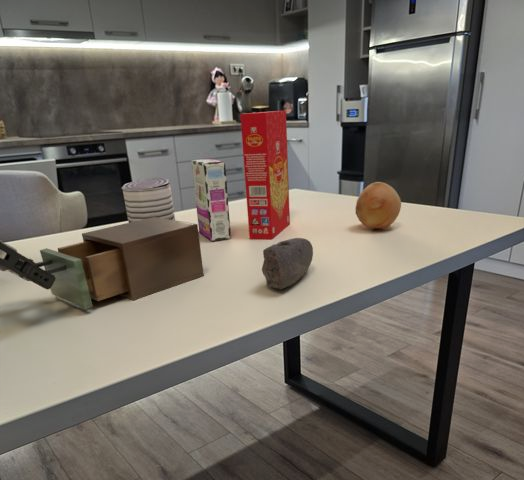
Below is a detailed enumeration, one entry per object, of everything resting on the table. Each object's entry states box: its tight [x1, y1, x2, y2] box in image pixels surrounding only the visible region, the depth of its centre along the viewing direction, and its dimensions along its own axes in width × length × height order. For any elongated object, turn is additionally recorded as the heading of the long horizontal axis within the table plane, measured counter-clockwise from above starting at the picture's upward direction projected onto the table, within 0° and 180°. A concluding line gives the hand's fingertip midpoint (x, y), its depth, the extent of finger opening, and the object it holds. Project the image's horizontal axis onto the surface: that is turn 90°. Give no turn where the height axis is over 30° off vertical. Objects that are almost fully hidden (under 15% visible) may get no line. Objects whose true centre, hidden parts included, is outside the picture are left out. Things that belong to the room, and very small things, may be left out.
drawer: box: [13, 240, 129, 310], centre depth 75 cm, size 19×11×7 cm, turn 136°
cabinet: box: [81, 217, 205, 301], centre depth 82 cm, size 15×13×9 cm
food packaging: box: [239, 110, 291, 240], centre depth 107 cm, size 15×5×25 cm, turn 162°
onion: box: [355, 181, 402, 229], centre depth 106 cm, size 10×10×10 cm
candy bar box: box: [190, 158, 232, 242], centre depth 108 cm, size 11×5×16 cm, turn 22°
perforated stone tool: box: [261, 237, 314, 290], centre depth 78 cm, size 15×5×7 cm, turn 149°
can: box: [121, 177, 176, 223], centre depth 116 cm, size 11×11×12 cm
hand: (41, 279), depth 71 cm, fingers closed on drawer, 6 cm apart
